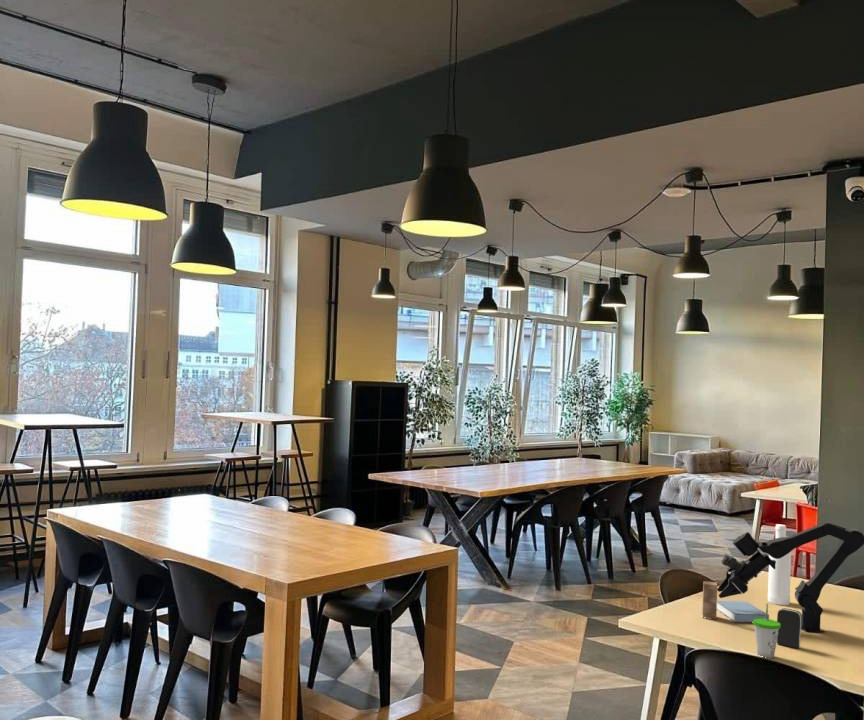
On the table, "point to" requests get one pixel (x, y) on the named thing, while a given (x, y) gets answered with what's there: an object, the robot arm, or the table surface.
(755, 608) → the book
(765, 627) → the cup
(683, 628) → the table surface
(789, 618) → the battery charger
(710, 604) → the brown wooden block
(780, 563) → the bottle
